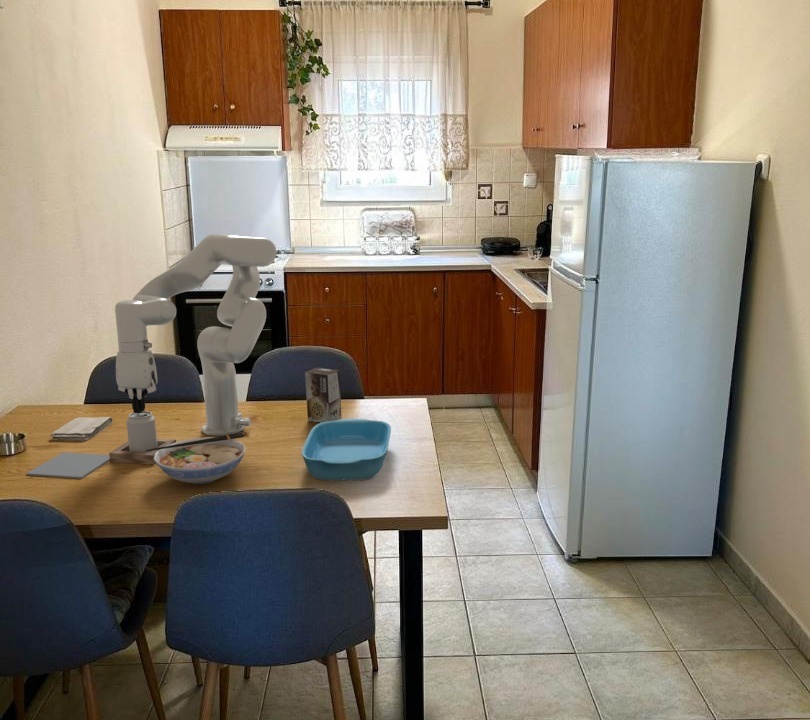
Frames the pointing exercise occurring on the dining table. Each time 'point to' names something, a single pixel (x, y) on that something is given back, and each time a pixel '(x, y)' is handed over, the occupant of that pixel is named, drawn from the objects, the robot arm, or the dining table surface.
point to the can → (141, 432)
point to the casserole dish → (346, 449)
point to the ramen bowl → (200, 458)
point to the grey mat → (70, 465)
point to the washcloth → (81, 428)
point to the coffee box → (323, 395)
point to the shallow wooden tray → (137, 453)
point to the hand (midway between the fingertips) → (139, 411)
